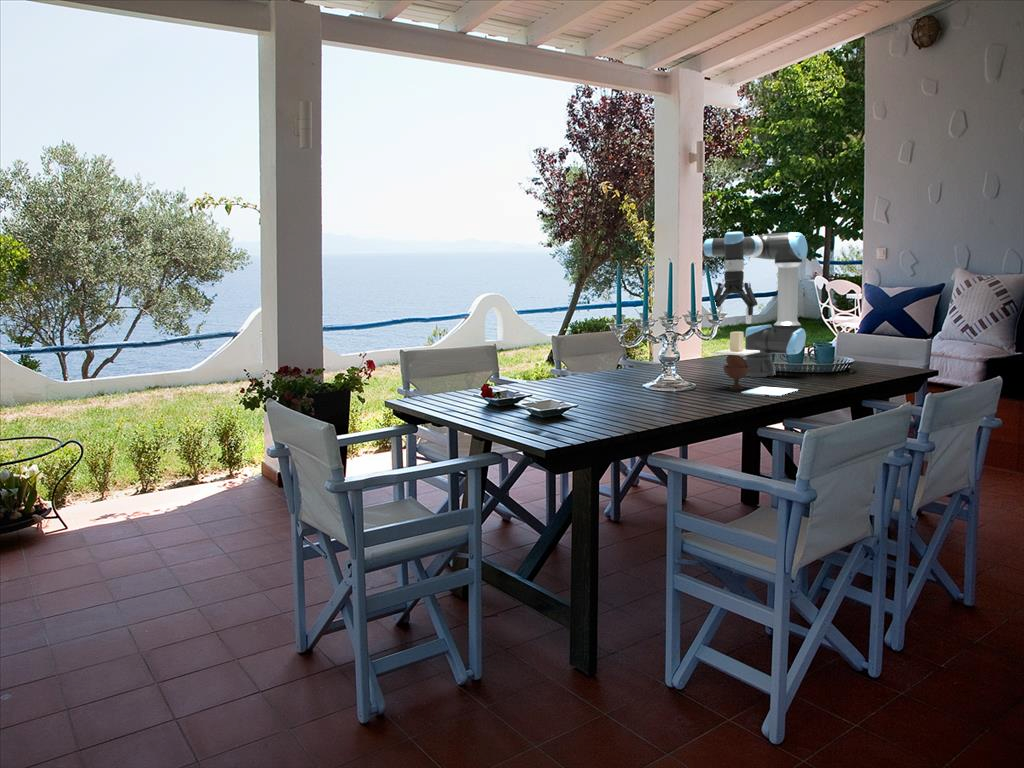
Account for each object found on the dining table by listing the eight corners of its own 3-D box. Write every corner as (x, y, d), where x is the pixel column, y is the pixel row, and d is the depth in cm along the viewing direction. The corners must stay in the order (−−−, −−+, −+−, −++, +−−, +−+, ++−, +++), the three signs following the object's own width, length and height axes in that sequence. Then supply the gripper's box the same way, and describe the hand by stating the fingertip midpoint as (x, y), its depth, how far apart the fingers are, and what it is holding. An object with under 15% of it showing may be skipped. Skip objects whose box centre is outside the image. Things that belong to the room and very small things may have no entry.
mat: (761, 387, 355) (761, 386, 355) (798, 390, 345) (798, 389, 345) (741, 393, 342) (741, 392, 342) (779, 396, 332) (779, 395, 331)
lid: (729, 350, 363) (729, 330, 362) (760, 352, 354) (760, 331, 353) (713, 353, 353) (713, 332, 352) (744, 355, 344) (744, 333, 343)
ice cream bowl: (744, 391, 348) (744, 354, 346) (718, 389, 355) (718, 353, 353) (754, 387, 357) (754, 352, 354) (728, 386, 363) (729, 351, 361)
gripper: (702, 271, 349) (702, 322, 352) (756, 270, 331) (755, 324, 334) (713, 270, 354) (713, 321, 357) (766, 269, 336) (766, 323, 339)
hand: (733, 323), depth 345 cm, fingers open, 13 cm apart
